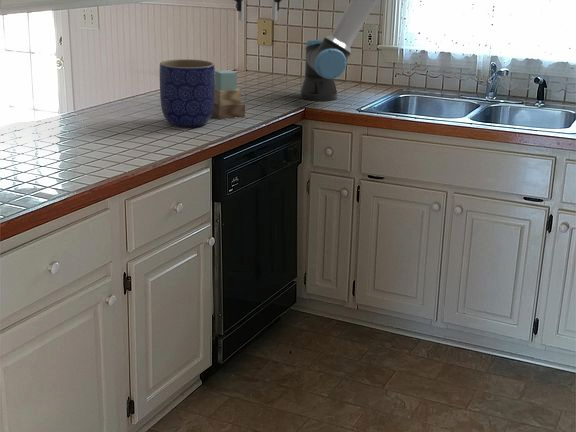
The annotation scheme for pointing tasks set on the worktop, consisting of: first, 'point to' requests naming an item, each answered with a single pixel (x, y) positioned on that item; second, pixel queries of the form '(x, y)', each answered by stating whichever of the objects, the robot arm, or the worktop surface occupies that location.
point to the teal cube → (226, 80)
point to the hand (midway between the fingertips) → (257, 20)
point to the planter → (187, 91)
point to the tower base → (228, 111)
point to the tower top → (227, 97)
